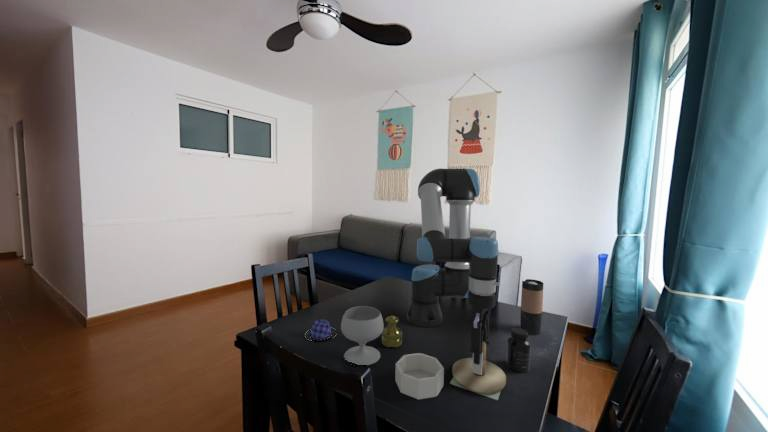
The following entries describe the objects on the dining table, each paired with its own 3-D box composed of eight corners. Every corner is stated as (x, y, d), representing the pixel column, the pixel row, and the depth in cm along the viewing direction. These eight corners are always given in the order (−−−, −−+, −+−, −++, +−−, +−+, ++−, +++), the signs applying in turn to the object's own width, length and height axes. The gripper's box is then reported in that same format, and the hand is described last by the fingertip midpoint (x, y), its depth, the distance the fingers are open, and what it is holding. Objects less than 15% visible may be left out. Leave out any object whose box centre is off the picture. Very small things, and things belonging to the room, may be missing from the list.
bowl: (388, 388, 82) (389, 369, 82) (409, 366, 93) (409, 349, 93) (431, 406, 76) (432, 385, 75) (447, 379, 86) (448, 361, 86)
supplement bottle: (502, 361, 96) (503, 326, 95) (522, 361, 97) (523, 325, 96) (512, 374, 89) (514, 336, 88) (534, 373, 90) (536, 335, 89)
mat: (449, 384, 84) (449, 383, 84) (462, 362, 95) (462, 361, 95) (497, 401, 78) (497, 400, 78) (505, 375, 89) (505, 374, 89)
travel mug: (543, 336, 114) (546, 285, 112) (522, 334, 115) (524, 284, 114) (537, 327, 121) (540, 279, 120) (517, 325, 123) (519, 278, 121)
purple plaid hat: (343, 332, 115) (343, 319, 115) (323, 346, 105) (323, 332, 104) (319, 325, 121) (319, 313, 121) (298, 338, 110) (297, 324, 110)
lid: (445, 380, 84) (446, 347, 83) (460, 355, 97) (461, 326, 96) (500, 400, 77) (502, 364, 76) (509, 370, 89) (511, 339, 88)
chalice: (391, 360, 96) (392, 315, 95) (352, 374, 89) (353, 325, 87) (369, 341, 108) (370, 301, 107) (334, 352, 100) (334, 309, 99)
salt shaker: (404, 340, 110) (404, 313, 109) (398, 350, 103) (399, 322, 102) (385, 336, 112) (385, 311, 111) (378, 346, 105) (379, 319, 104)
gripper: (489, 303, 75) (485, 390, 78) (501, 285, 90) (497, 359, 92) (460, 297, 79) (457, 380, 81) (475, 281, 93) (473, 352, 96)
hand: (478, 369), depth 87 cm, fingers closed on lid, 3 cm apart
